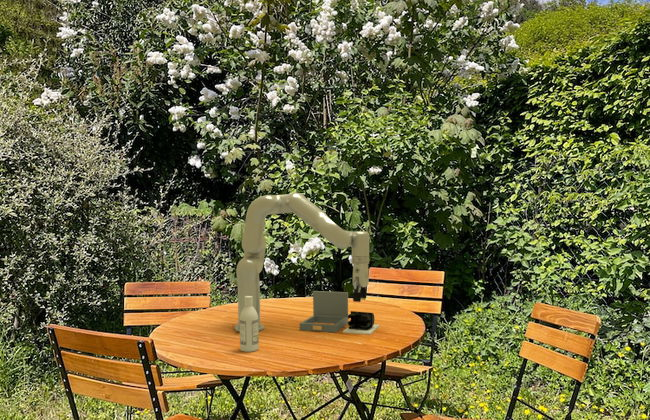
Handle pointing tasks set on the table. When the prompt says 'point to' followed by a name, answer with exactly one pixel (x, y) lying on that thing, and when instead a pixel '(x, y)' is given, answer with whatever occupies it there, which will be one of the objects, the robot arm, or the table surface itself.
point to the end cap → (361, 320)
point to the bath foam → (249, 327)
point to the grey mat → (361, 330)
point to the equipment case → (327, 312)
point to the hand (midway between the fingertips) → (359, 299)
